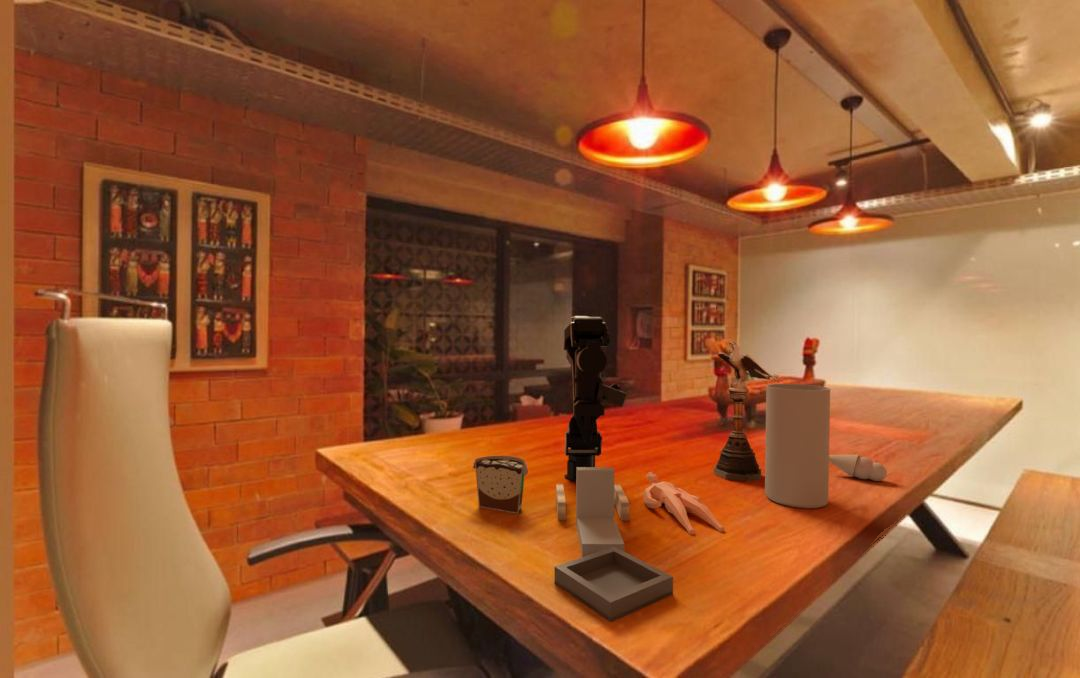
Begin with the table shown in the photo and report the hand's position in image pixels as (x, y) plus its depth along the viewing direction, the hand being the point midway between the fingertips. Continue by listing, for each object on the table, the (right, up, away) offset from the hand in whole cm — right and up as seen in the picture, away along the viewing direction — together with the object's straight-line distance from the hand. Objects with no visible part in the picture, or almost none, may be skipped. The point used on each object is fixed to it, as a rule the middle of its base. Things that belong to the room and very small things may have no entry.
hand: (587, 443), depth 112 cm
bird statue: (+43, -12, +21) cm, 49 cm away
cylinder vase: (+46, -13, 0) cm, 48 cm away
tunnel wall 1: (-6, -12, -7) cm, 15 cm away
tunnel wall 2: (+6, -12, -7) cm, 15 cm away
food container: (-18, -12, -5) cm, 22 cm away
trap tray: (0, -13, -39) cm, 41 cm away
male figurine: (+18, -13, -6) cm, 23 cm away
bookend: (0, -13, -21) cm, 25 cm away
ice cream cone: (+69, -12, +18) cm, 72 cm away
